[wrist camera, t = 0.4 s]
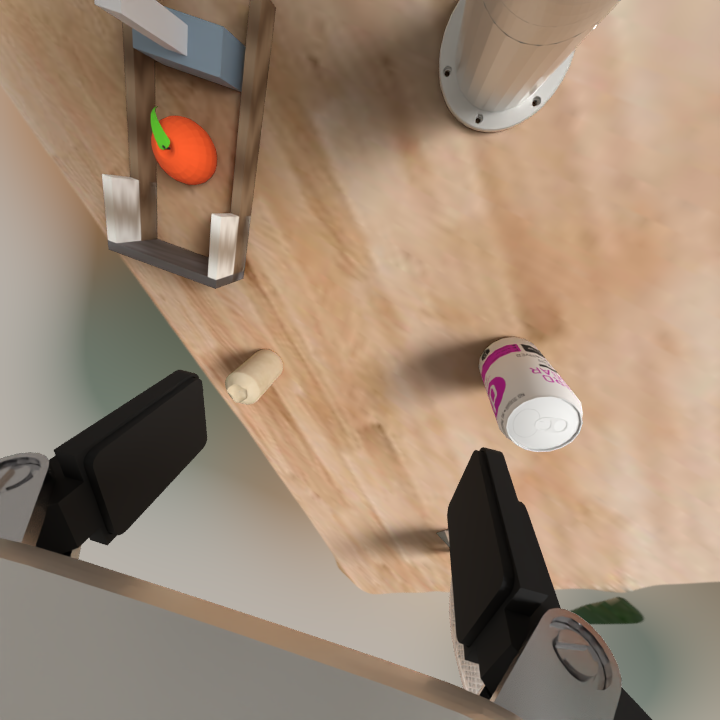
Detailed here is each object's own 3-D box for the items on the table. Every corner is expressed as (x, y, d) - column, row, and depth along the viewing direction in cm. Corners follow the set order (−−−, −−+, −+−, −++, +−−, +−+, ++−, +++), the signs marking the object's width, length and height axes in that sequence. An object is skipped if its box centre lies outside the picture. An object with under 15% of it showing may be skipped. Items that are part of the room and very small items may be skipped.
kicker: (164, 19, 34) (45, -69, 24) (246, 47, 34) (164, -28, 23) (164, 65, 36) (54, 3, 25) (242, 92, 36) (164, 41, 25)
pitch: (142, -38, 33) (77, -96, 27) (275, 7, 32) (240, -41, 26) (150, 244, 47) (108, 249, 41) (243, 278, 46) (215, 288, 40)
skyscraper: (432, 527, 63) (438, 732, 38) (467, 515, 60) (499, 731, 35) (455, 551, 65) (474, 761, 40) (490, 541, 62) (535, 763, 37)
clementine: (165, 130, 40) (116, 115, 33) (205, 103, 37) (161, 81, 31) (198, 195, 42) (158, 192, 36) (237, 173, 40) (203, 166, 34)
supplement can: (475, 384, 47) (495, 453, 34) (481, 334, 43) (506, 388, 30) (532, 387, 45) (577, 459, 32) (544, 335, 42) (599, 393, 29)
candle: (281, 381, 54) (252, 415, 45) (251, 371, 54) (218, 402, 45) (286, 355, 51) (257, 385, 42) (255, 344, 51) (220, 371, 42)
